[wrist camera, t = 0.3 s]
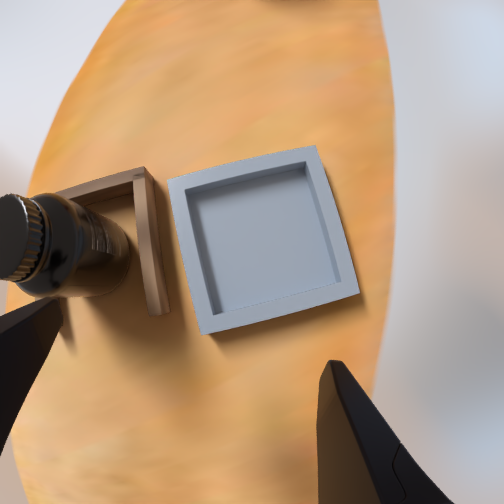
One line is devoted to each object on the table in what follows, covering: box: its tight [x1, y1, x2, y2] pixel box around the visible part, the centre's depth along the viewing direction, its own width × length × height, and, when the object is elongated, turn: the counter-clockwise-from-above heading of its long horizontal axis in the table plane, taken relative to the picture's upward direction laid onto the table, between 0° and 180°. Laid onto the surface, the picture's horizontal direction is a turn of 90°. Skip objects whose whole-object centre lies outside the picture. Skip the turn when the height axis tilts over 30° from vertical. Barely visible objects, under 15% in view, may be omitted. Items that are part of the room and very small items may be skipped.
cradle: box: [35, 166, 170, 326], centre depth 23 cm, size 12×12×2 cm
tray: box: [167, 145, 360, 335], centre depth 23 cm, size 12×12×2 cm
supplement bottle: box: [0, 193, 130, 298], centre depth 18 cm, size 7×7×12 cm
